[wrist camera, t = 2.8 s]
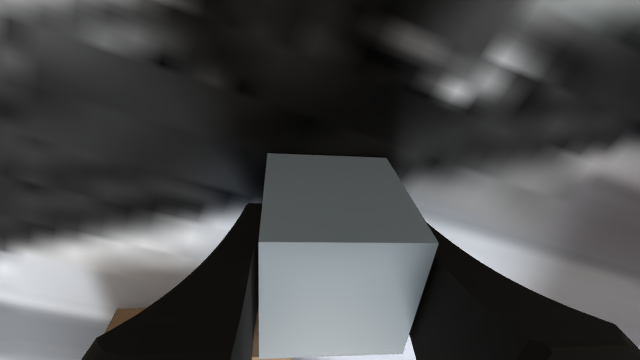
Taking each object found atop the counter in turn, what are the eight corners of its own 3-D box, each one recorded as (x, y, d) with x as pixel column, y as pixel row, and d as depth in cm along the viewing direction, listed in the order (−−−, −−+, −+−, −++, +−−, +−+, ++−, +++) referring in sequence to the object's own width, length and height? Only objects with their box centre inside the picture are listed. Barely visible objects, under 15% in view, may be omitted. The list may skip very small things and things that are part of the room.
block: (386, 157, 13) (438, 243, 8) (368, 248, 15) (402, 353, 11) (267, 153, 12) (258, 242, 8) (266, 248, 14) (259, 358, 10)
